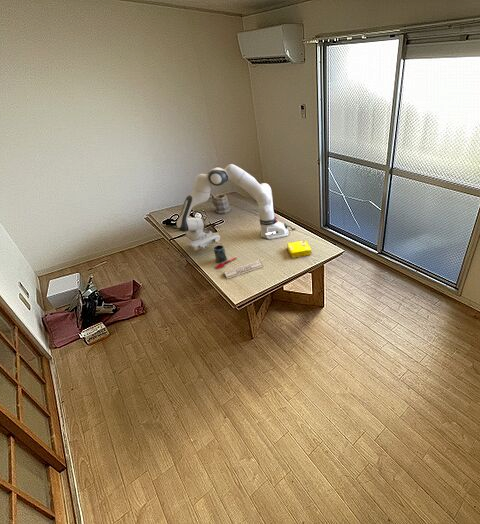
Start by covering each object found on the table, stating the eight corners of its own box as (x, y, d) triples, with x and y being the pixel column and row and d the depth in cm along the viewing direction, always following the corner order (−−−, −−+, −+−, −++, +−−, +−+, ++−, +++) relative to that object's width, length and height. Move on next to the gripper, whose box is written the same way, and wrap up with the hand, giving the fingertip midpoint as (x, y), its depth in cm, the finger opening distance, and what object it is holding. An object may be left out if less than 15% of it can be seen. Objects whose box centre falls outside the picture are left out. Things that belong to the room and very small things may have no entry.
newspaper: (258, 262, 193) (258, 259, 192) (262, 266, 188) (262, 264, 187) (224, 273, 182) (223, 271, 180) (227, 279, 177) (226, 276, 176)
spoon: (234, 257, 197) (233, 256, 196) (237, 259, 195) (237, 258, 194) (215, 267, 187) (214, 265, 187) (218, 269, 185) (218, 268, 185)
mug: (214, 260, 194) (211, 247, 188) (223, 256, 198) (220, 244, 193) (222, 265, 189) (219, 252, 183) (231, 261, 193) (228, 248, 188)
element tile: (286, 248, 208) (286, 242, 205) (306, 244, 212) (305, 239, 209) (291, 258, 196) (290, 252, 193) (312, 254, 201) (311, 248, 198)
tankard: (233, 209, 265) (229, 194, 256) (222, 214, 256) (218, 198, 247) (219, 205, 273) (215, 190, 265) (208, 209, 265) (203, 194, 256)
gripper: (185, 240, 194) (196, 247, 187) (212, 230, 208) (223, 235, 201) (188, 248, 198) (198, 255, 191) (214, 237, 211) (225, 243, 204)
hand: (211, 245), depth 196 cm, fingers open, 8 cm apart
